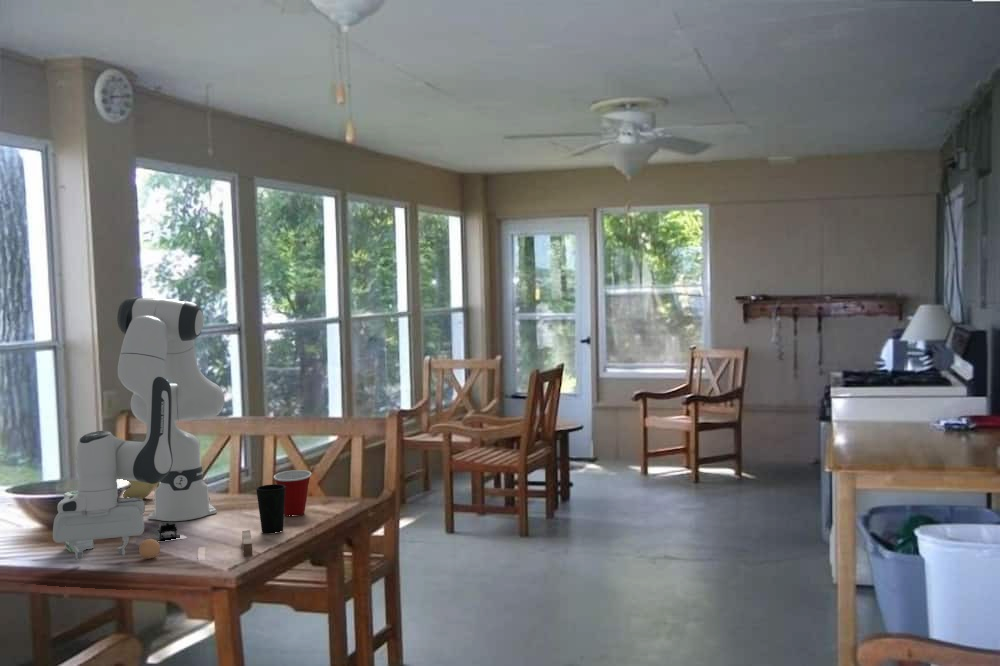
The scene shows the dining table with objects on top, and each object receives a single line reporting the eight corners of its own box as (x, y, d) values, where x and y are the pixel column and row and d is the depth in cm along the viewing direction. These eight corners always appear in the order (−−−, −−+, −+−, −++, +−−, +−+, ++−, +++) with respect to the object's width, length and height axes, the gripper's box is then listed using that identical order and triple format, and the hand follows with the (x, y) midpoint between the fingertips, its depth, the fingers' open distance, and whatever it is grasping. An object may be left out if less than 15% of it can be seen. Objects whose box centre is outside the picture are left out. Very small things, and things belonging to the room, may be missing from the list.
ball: (140, 556, 230) (139, 537, 230) (160, 554, 232) (160, 535, 231) (138, 562, 226) (137, 542, 225) (159, 560, 227) (158, 540, 227)
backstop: (242, 542, 242) (242, 530, 241) (250, 541, 242) (250, 530, 242) (243, 556, 228) (243, 544, 228) (252, 555, 229) (251, 543, 229)
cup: (279, 535, 248) (277, 490, 247) (252, 534, 250) (251, 489, 249) (291, 528, 255) (290, 484, 255) (265, 527, 257) (264, 484, 257)
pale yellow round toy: (158, 501, 295) (156, 467, 295) (117, 504, 293) (116, 470, 292) (162, 494, 305) (160, 462, 304) (123, 497, 302) (121, 464, 302)
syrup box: (64, 548, 240) (62, 492, 240) (89, 544, 244) (86, 489, 243) (70, 553, 236) (67, 495, 235) (95, 548, 239) (92, 492, 239)
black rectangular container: (144, 547, 242) (143, 530, 241) (141, 541, 248) (140, 524, 248) (194, 540, 247) (193, 522, 247) (189, 534, 254) (188, 517, 254)
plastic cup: (269, 518, 267) (267, 477, 267) (282, 510, 278) (281, 470, 277) (306, 519, 266) (304, 477, 265) (317, 510, 276) (316, 469, 276)
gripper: (145, 493, 231) (147, 549, 231) (54, 500, 225) (57, 557, 226) (143, 498, 225) (145, 555, 225) (50, 506, 219) (52, 564, 220)
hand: (100, 556), depth 225 cm, fingers open, 8 cm apart
